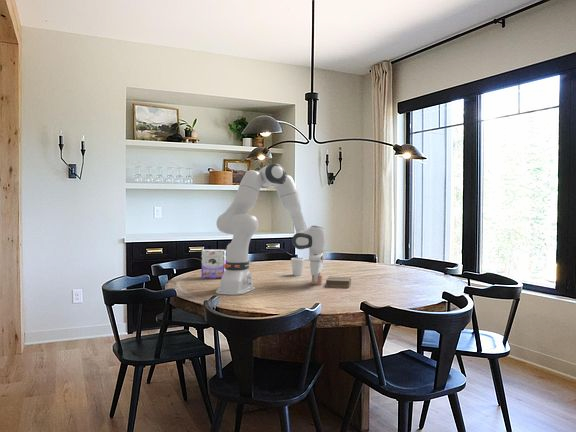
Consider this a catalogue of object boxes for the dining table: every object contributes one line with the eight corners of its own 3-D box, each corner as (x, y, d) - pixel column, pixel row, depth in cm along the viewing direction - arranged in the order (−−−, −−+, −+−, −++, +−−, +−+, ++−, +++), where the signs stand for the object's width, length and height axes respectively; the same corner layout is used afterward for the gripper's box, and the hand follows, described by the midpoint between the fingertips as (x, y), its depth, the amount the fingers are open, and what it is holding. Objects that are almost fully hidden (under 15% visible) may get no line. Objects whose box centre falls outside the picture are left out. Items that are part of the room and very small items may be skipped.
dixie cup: (288, 274, 287) (288, 258, 286) (301, 273, 290) (301, 257, 289) (293, 276, 279) (293, 259, 278) (306, 275, 282) (306, 259, 281)
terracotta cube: (321, 284, 253) (321, 275, 253) (311, 284, 254) (311, 275, 254) (322, 282, 258) (322, 273, 258) (313, 282, 259) (313, 273, 259)
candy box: (226, 277, 277) (226, 249, 276) (224, 278, 271) (224, 250, 270) (203, 276, 278) (203, 249, 278) (201, 278, 273) (200, 250, 272)
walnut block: (348, 288, 245) (349, 281, 244) (326, 287, 247) (326, 280, 247) (350, 284, 256) (350, 277, 256) (329, 283, 259) (329, 276, 259)
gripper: (314, 253, 266) (314, 277, 267) (308, 257, 247) (308, 283, 247) (325, 253, 265) (325, 277, 266) (320, 258, 245) (320, 284, 246)
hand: (317, 280), depth 256 cm, fingers closed on terracotta cube, 5 cm apart
